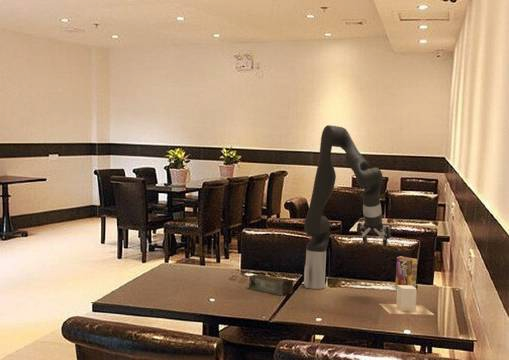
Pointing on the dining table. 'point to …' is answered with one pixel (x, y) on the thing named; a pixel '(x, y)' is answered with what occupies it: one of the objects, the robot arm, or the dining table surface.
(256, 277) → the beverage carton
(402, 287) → the white upright block
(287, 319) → the dining table surface
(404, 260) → the candy box
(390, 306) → the board
